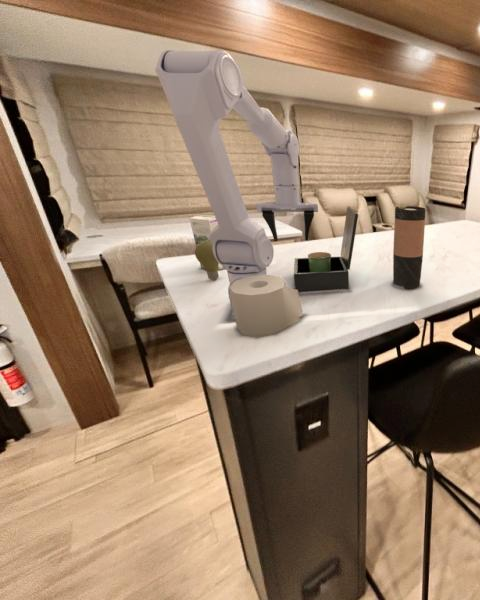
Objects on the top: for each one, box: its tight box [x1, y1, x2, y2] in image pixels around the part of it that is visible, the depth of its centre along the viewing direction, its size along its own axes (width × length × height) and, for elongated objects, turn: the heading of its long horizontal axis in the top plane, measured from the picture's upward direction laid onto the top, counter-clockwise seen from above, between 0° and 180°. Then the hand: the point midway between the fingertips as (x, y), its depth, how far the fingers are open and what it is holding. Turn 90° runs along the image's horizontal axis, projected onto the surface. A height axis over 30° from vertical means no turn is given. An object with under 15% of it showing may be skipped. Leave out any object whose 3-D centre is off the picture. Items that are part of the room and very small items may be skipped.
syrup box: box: [189, 214, 223, 270], centre depth 88 cm, size 6×6×14 cm
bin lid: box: [340, 205, 359, 271], centre depth 78 cm, size 13×14×1 cm
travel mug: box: [392, 205, 426, 290], centre depth 79 cm, size 8×8×20 cm
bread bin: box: [293, 256, 350, 293], centre depth 80 cm, size 13×14×5 cm
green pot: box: [307, 251, 332, 272], centre depth 80 cm, size 6×6×7 cm
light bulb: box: [194, 242, 220, 281], centre depth 79 cm, size 6×6×10 cm
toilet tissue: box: [228, 274, 304, 338], centre depth 60 cm, size 9×13×9 cm
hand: (291, 240), depth 81 cm, fingers open, 7 cm apart
